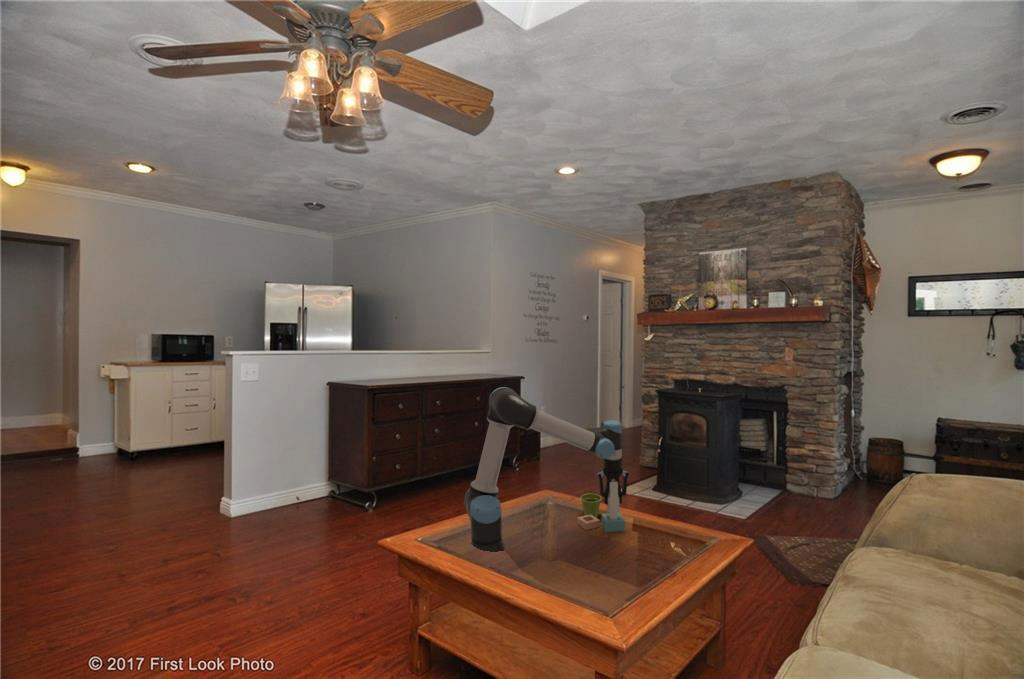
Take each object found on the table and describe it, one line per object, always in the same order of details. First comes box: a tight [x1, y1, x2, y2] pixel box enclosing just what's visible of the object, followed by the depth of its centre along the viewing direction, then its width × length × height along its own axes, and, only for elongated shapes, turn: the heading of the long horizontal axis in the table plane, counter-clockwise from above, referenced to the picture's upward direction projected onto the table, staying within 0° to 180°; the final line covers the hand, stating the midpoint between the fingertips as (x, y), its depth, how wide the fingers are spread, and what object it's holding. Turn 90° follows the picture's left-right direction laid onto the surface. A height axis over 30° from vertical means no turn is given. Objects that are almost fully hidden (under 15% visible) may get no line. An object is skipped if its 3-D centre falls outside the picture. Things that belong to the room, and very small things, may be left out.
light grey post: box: [607, 479, 619, 520], centre depth 236 cm, size 3×3×20 cm
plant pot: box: [579, 493, 603, 518], centre depth 248 cm, size 9×9×9 cm
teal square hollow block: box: [601, 512, 626, 533], centre depth 237 cm, size 8×8×4 cm
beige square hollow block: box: [576, 514, 601, 531], centre depth 240 cm, size 7×7×3 cm
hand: (613, 511), depth 237 cm, fingers closed on light grey post, 3 cm apart
